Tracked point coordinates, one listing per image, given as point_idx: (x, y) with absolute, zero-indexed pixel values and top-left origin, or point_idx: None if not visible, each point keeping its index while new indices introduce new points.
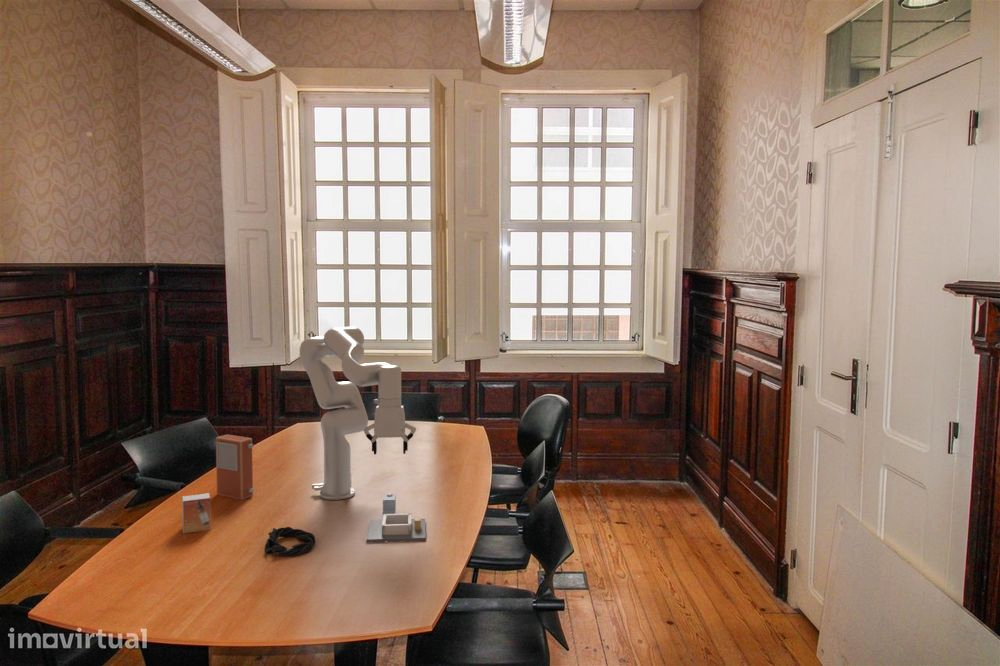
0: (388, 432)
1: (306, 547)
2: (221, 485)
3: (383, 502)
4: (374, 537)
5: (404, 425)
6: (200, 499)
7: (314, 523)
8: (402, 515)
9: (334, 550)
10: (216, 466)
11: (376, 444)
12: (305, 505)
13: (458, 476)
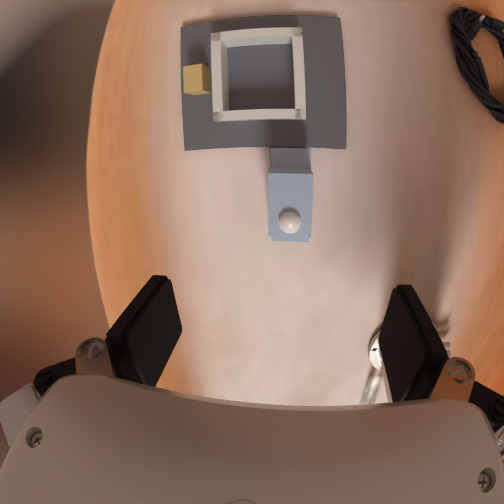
0: (272, 485)
1: (458, 12)
2: None
3: (310, 172)
4: (319, 25)
5: (1, 474)
6: None
7: (468, 175)
8: (242, 110)
9: (403, 3)
10: None
11: (395, 375)
12: (468, 289)
13: (164, 388)
